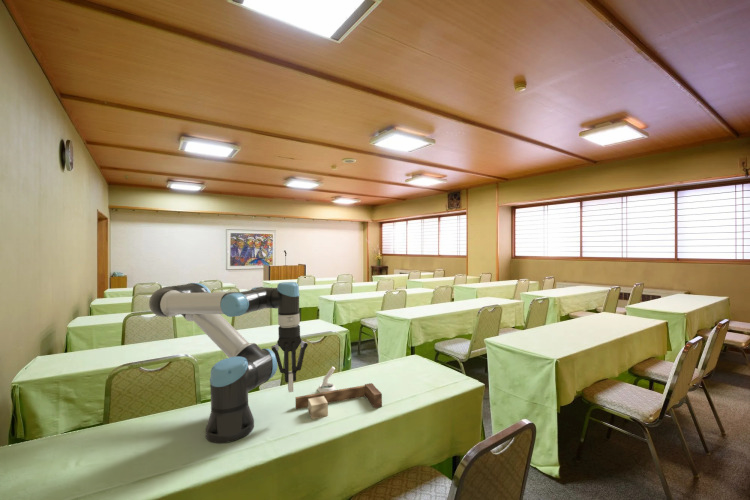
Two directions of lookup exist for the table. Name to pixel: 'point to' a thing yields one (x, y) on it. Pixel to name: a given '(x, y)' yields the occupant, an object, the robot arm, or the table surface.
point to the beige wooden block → (317, 407)
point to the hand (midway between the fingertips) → (290, 390)
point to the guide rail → (345, 395)
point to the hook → (326, 383)
